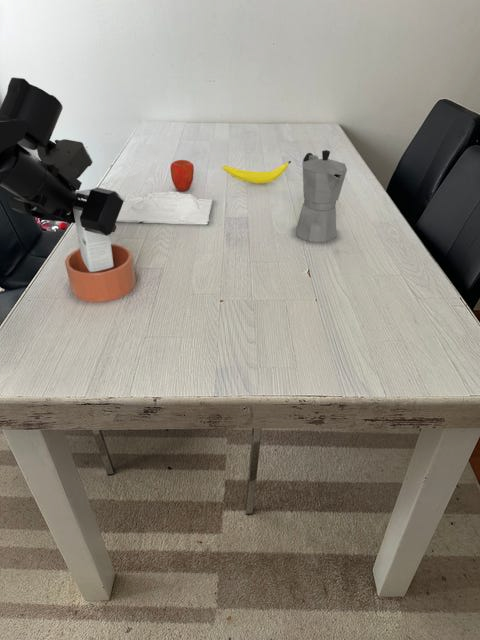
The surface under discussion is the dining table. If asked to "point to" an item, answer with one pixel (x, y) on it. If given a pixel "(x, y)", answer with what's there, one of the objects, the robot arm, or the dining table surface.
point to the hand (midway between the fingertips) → (97, 225)
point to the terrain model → (165, 209)
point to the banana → (256, 174)
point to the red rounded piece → (182, 174)
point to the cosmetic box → (93, 245)
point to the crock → (102, 276)
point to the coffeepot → (320, 197)
